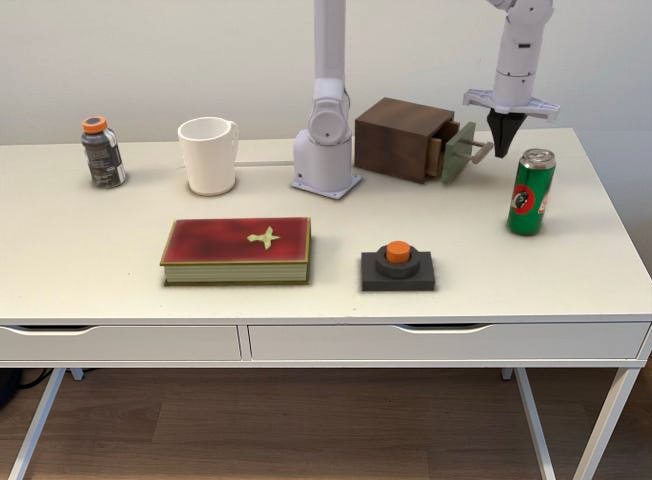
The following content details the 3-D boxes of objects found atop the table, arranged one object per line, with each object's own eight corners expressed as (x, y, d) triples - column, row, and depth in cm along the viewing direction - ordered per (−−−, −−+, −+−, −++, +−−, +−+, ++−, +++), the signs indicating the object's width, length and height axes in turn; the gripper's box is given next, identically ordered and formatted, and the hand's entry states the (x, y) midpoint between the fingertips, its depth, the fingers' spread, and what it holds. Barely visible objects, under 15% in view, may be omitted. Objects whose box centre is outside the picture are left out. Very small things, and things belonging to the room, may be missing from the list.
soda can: (541, 237, 99) (559, 164, 91) (506, 235, 100) (521, 162, 92) (539, 219, 103) (556, 147, 94) (505, 217, 104) (519, 145, 95)
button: (386, 264, 91) (387, 253, 90) (385, 251, 94) (386, 240, 92) (410, 264, 91) (411, 253, 90) (408, 250, 93) (409, 240, 92)
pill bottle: (133, 177, 120) (118, 116, 112) (110, 191, 117) (93, 130, 109) (109, 170, 123) (93, 110, 115) (86, 184, 119) (68, 123, 111)
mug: (205, 203, 112) (196, 146, 105) (178, 184, 117) (167, 128, 110) (257, 180, 117) (251, 124, 110) (228, 163, 122) (221, 108, 115)
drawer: (493, 165, 114) (500, 127, 109) (471, 189, 109) (477, 151, 104) (406, 144, 121) (409, 108, 117) (381, 166, 116) (383, 129, 111)
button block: (361, 290, 92) (362, 270, 90) (361, 261, 97) (361, 241, 95) (434, 290, 92) (436, 269, 89) (429, 260, 97) (431, 240, 94)
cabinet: (449, 158, 119) (454, 111, 113) (423, 184, 113) (427, 136, 107) (382, 142, 125) (384, 96, 119) (354, 165, 118) (354, 119, 113)
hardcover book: (179, 239, 104) (174, 216, 102) (311, 237, 103) (310, 213, 100) (164, 286, 96) (159, 262, 93) (308, 284, 94) (307, 260, 91)
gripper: (459, 70, 98) (449, 155, 108) (556, 87, 92) (536, 176, 101) (478, 55, 103) (466, 138, 112) (572, 70, 96) (551, 157, 106)
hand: (500, 155), depth 107 cm, fingers closed
